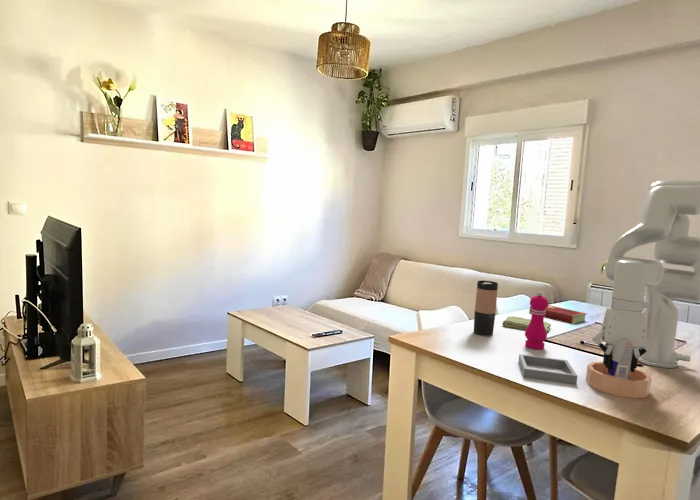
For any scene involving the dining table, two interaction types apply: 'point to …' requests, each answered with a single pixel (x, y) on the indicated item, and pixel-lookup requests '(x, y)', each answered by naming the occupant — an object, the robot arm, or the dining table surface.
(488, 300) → the travel mug
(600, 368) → the bowl
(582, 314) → the hardcover book
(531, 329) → the pepper mill
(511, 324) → the washcloth
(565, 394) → the dining table surface
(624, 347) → the energy drink
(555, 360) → the parts tray
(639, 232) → the robot arm
